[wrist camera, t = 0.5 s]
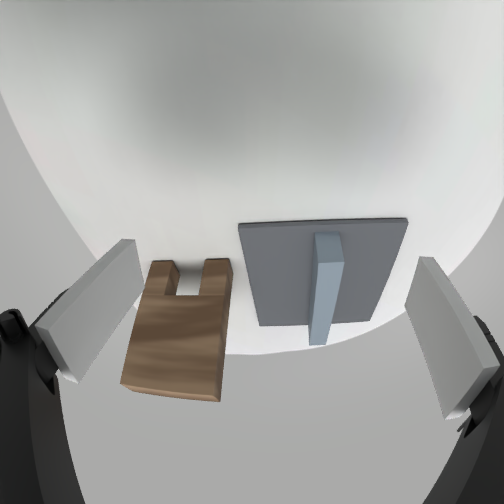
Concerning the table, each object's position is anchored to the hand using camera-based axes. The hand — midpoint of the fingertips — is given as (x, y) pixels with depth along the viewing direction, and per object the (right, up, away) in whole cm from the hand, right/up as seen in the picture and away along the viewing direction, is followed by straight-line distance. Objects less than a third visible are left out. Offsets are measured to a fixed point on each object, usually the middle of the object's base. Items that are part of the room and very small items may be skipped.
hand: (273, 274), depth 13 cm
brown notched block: (-8, -1, +24) cm, 25 cm away
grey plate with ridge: (+8, -3, +25) cm, 26 cm away
